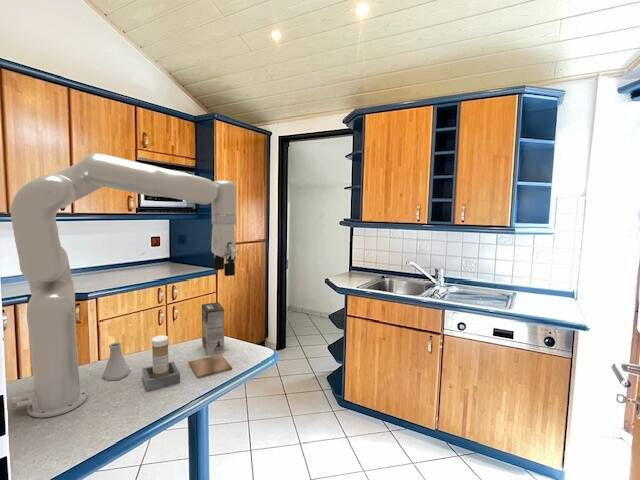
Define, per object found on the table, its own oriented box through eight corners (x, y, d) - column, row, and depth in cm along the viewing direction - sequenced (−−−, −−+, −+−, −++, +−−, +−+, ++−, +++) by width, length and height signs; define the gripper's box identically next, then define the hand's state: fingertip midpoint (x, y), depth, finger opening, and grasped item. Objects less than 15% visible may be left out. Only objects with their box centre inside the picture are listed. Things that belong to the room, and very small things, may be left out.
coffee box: (201, 345, 131) (200, 303, 129) (218, 342, 134) (218, 301, 132) (206, 355, 123) (206, 311, 121) (225, 352, 127) (225, 308, 125)
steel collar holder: (146, 391, 100) (146, 381, 100) (142, 377, 108) (142, 368, 107) (180, 383, 105) (179, 373, 105) (173, 370, 113) (173, 361, 112)
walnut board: (197, 378, 108) (197, 376, 108) (188, 363, 117) (188, 361, 117) (232, 369, 114) (232, 367, 114) (221, 356, 123) (221, 354, 123)
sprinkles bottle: (157, 376, 109) (156, 334, 107) (172, 376, 109) (171, 335, 107) (149, 383, 104) (148, 340, 102) (164, 384, 104) (163, 341, 102)
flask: (134, 370, 112) (133, 340, 110) (119, 382, 105) (118, 350, 103) (113, 368, 112) (112, 338, 111) (97, 380, 105) (95, 348, 104)
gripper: (203, 218, 117) (204, 268, 119) (221, 222, 103) (221, 279, 105) (225, 217, 121) (226, 266, 123) (245, 221, 107) (245, 276, 109)
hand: (224, 272), depth 114 cm, fingers open, 9 cm apart
